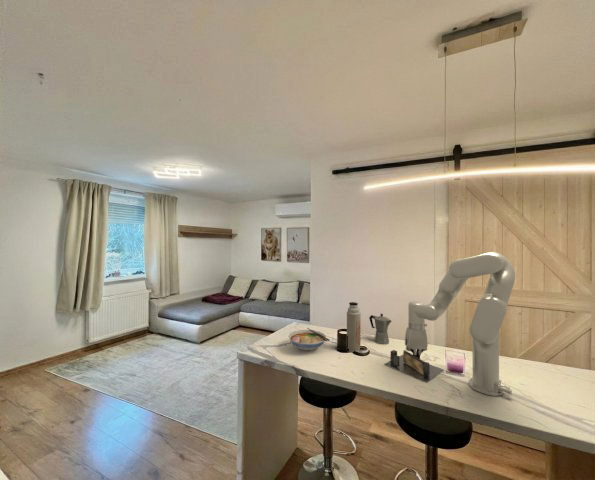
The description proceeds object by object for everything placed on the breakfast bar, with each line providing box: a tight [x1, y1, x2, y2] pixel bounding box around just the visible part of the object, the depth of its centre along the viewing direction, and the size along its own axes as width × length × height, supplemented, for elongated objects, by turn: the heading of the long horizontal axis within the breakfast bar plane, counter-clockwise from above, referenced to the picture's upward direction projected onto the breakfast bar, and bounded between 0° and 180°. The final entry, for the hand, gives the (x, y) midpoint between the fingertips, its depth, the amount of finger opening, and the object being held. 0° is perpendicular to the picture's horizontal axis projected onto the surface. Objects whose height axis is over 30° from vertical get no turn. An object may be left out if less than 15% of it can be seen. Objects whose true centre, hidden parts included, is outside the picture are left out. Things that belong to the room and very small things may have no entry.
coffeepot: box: [369, 313, 392, 345], centre depth 168 cm, size 15×9×18 cm, turn 44°
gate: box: [402, 349, 425, 375], centre depth 131 cm, size 14×2×6 cm, turn 16°
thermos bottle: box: [346, 301, 362, 353], centre depth 154 cm, size 8×8×28 cm
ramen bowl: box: [288, 327, 330, 352], centre depth 157 cm, size 25×23×8 cm
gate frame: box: [383, 349, 445, 383], centre depth 133 cm, size 22×18×7 cm
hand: (416, 361), depth 133 cm, fingers closed
